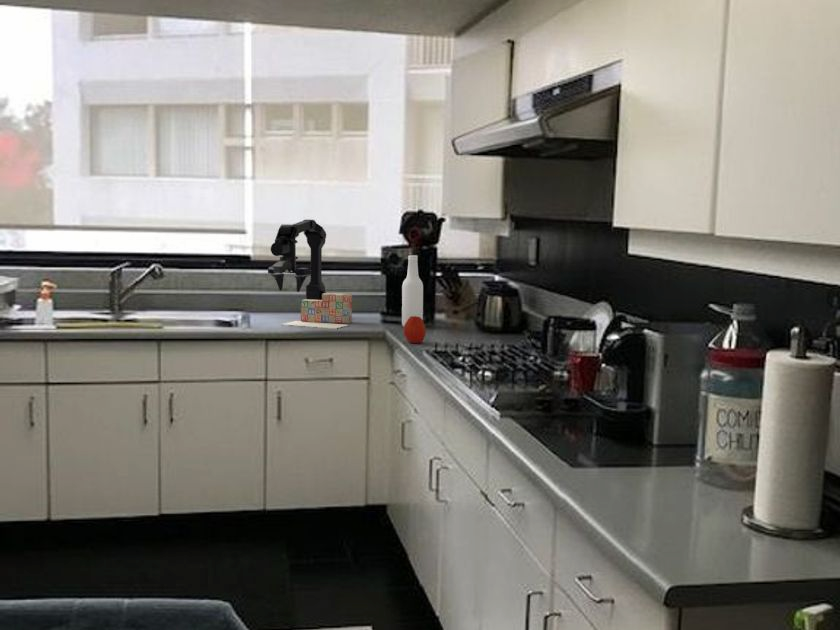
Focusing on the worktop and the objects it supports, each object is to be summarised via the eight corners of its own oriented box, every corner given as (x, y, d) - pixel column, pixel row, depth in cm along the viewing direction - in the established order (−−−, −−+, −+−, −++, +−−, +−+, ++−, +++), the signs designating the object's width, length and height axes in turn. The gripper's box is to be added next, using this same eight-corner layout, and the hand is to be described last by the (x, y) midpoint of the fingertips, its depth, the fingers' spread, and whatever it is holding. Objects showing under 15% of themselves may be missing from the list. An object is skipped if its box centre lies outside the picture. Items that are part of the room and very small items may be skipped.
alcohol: (397, 326, 385) (398, 255, 381) (410, 324, 391) (411, 254, 388) (414, 328, 379) (414, 256, 375) (426, 326, 386) (427, 255, 382)
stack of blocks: (300, 321, 393) (300, 293, 391) (303, 320, 399) (304, 292, 398) (349, 323, 390) (350, 294, 389) (352, 322, 397) (352, 293, 396)
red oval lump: (400, 343, 340) (400, 315, 339) (408, 340, 348) (408, 312, 347) (420, 345, 338) (421, 316, 336) (428, 341, 345) (429, 313, 344)
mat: (295, 321, 396) (295, 320, 396) (348, 325, 386) (348, 324, 386) (281, 325, 385) (281, 324, 385) (335, 329, 375) (335, 328, 375)
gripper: (259, 254, 381) (259, 291, 384) (294, 256, 372) (295, 294, 374) (276, 253, 391) (276, 289, 393) (311, 254, 382) (311, 291, 384)
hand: (289, 291), depth 386 cm, fingers open, 9 cm apart
